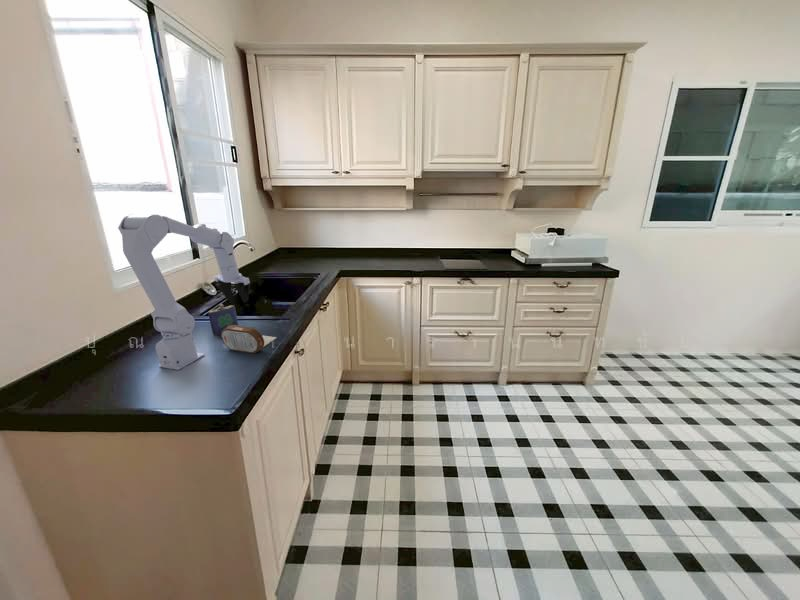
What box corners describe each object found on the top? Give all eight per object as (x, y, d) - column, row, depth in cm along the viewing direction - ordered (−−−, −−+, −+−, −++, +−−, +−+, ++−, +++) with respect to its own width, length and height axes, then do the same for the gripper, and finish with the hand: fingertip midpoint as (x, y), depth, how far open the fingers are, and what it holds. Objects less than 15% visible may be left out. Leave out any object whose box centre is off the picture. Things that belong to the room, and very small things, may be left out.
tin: (266, 351, 109) (262, 327, 106) (260, 355, 106) (255, 331, 103) (229, 346, 113) (224, 323, 110) (222, 350, 110) (216, 326, 107)
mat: (259, 349, 110) (259, 348, 110) (235, 345, 113) (235, 344, 113) (276, 338, 117) (276, 337, 117) (253, 335, 120) (252, 334, 120)
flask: (237, 326, 129) (231, 300, 125) (240, 328, 127) (235, 301, 123) (212, 334, 122) (205, 307, 119) (215, 336, 121) (208, 308, 117)
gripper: (251, 263, 119) (261, 297, 125) (221, 260, 124) (232, 294, 130) (236, 270, 113) (246, 306, 119) (205, 267, 119) (217, 301, 124)
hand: (238, 300), depth 124 cm, fingers open, 7 cm apart
